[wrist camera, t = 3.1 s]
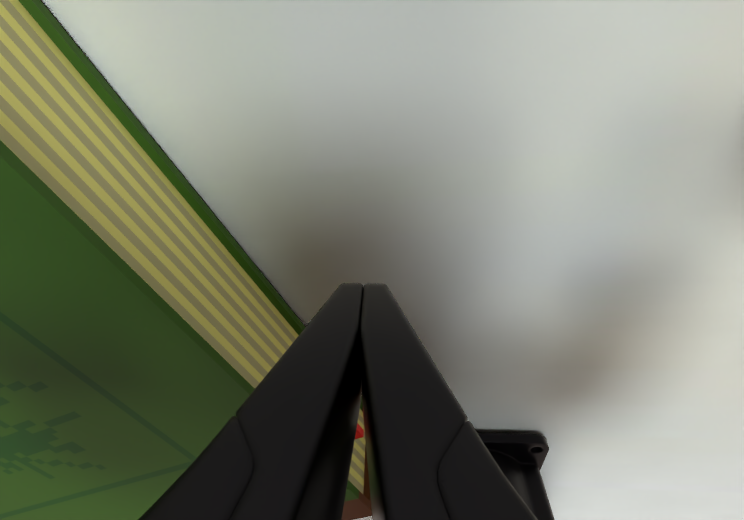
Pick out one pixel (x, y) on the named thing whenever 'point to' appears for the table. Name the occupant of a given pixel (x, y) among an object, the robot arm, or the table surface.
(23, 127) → the hardcover book
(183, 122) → the table surface
